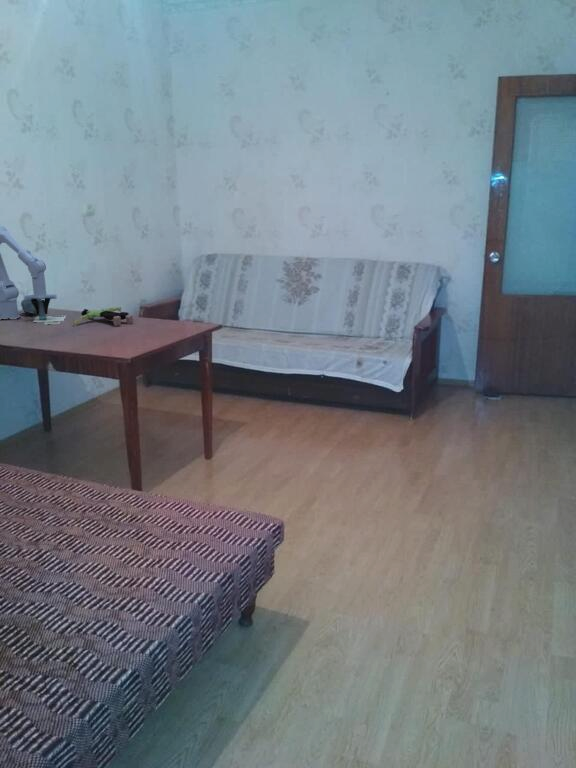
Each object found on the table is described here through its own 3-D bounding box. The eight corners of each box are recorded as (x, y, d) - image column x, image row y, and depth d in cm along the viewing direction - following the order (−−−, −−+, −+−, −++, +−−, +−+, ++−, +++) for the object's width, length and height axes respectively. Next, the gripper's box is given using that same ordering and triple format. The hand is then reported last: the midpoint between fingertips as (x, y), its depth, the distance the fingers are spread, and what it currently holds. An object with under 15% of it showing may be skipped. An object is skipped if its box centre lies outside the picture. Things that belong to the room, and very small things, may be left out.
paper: (33, 322, 300) (33, 322, 299) (36, 317, 312) (36, 316, 311) (63, 321, 303) (63, 320, 303) (65, 316, 315) (65, 315, 315)
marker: (38, 320, 303) (36, 300, 300) (39, 319, 306) (37, 299, 303) (46, 320, 303) (43, 300, 301) (47, 319, 306) (44, 299, 304)
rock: (43, 310, 329) (22, 307, 327) (43, 297, 325) (23, 294, 322) (38, 326, 317) (17, 322, 314) (38, 312, 313) (17, 309, 310)
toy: (150, 316, 307) (109, 312, 323) (147, 303, 305) (106, 300, 321) (101, 336, 283) (59, 331, 299) (98, 322, 281) (56, 318, 297)
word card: (43, 324, 295) (43, 324, 295) (45, 322, 299) (44, 321, 299) (59, 324, 297) (59, 323, 296) (60, 322, 301) (60, 321, 301)
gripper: (21, 288, 295) (25, 316, 299) (54, 287, 298) (57, 314, 302) (24, 285, 301) (27, 313, 305) (55, 284, 305) (58, 312, 309)
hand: (42, 314), depth 304 cm, fingers closed on marker, 3 cm apart
